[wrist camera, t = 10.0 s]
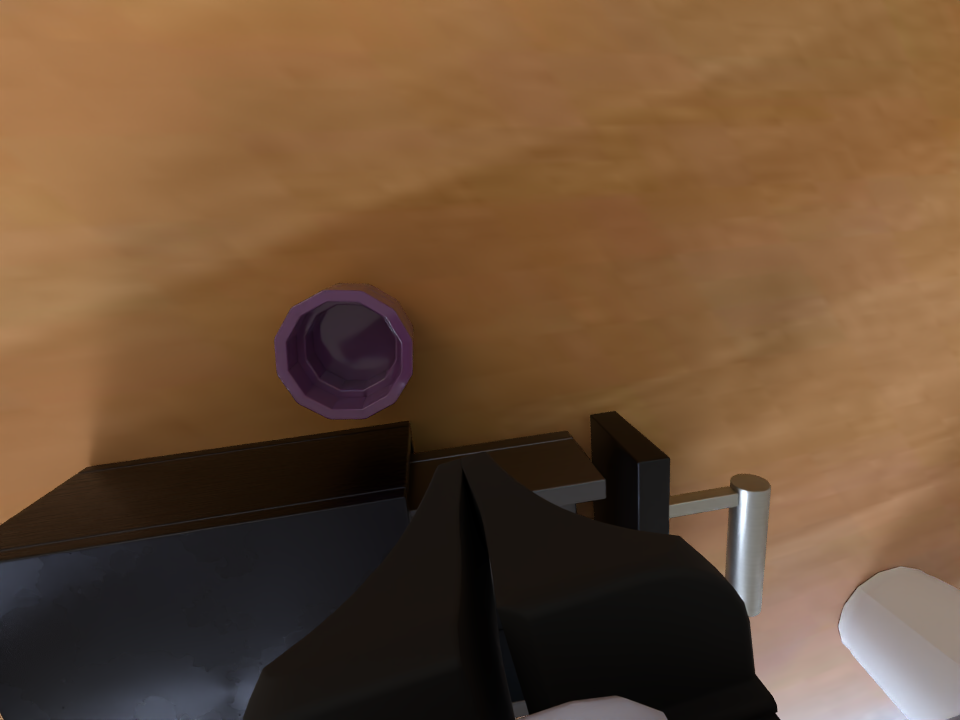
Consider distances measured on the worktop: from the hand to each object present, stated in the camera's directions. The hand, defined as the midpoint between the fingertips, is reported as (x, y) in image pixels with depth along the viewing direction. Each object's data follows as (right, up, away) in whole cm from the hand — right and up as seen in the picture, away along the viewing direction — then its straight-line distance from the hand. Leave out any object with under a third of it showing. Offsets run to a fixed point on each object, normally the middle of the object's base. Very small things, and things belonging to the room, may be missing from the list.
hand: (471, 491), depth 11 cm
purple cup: (-5, +4, +7) cm, 10 cm away
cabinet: (-9, -6, +9) cm, 14 cm away
